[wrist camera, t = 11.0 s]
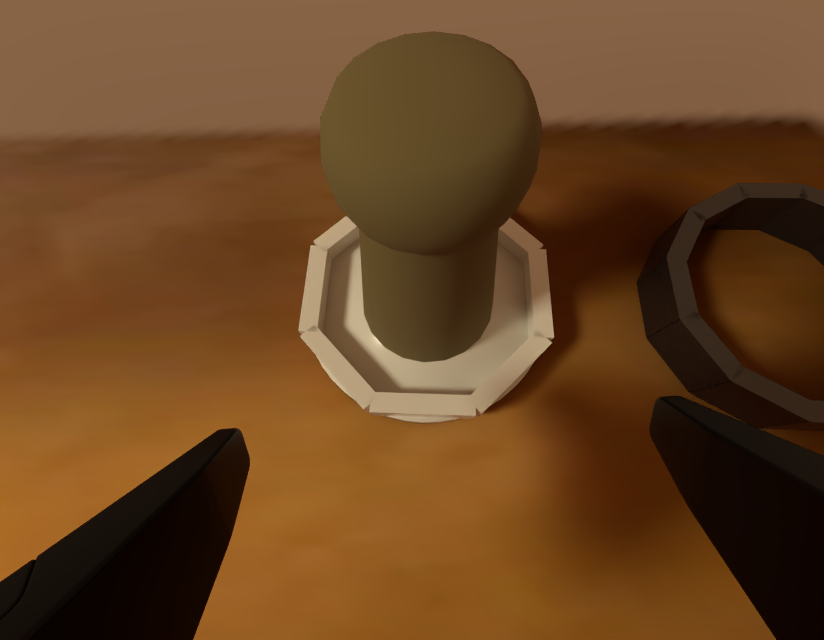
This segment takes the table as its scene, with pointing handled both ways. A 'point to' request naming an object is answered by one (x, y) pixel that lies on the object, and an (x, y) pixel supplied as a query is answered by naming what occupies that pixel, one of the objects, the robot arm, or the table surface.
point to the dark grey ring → (691, 336)
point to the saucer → (426, 381)
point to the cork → (429, 181)
